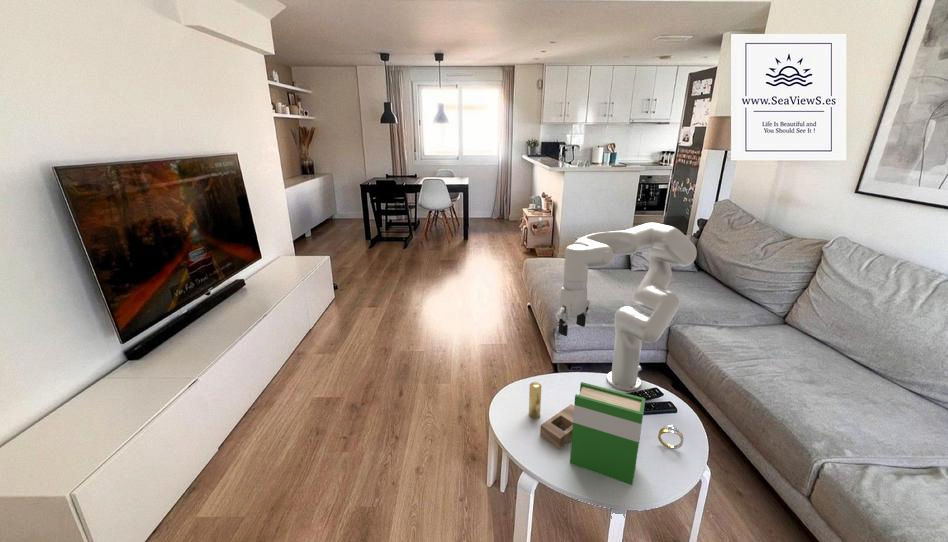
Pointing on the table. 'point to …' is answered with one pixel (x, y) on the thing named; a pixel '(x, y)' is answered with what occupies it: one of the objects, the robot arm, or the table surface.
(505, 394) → the table surface
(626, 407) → the hardback book
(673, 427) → the ring
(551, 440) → the eye block
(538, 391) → the peg
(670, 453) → the table surface
